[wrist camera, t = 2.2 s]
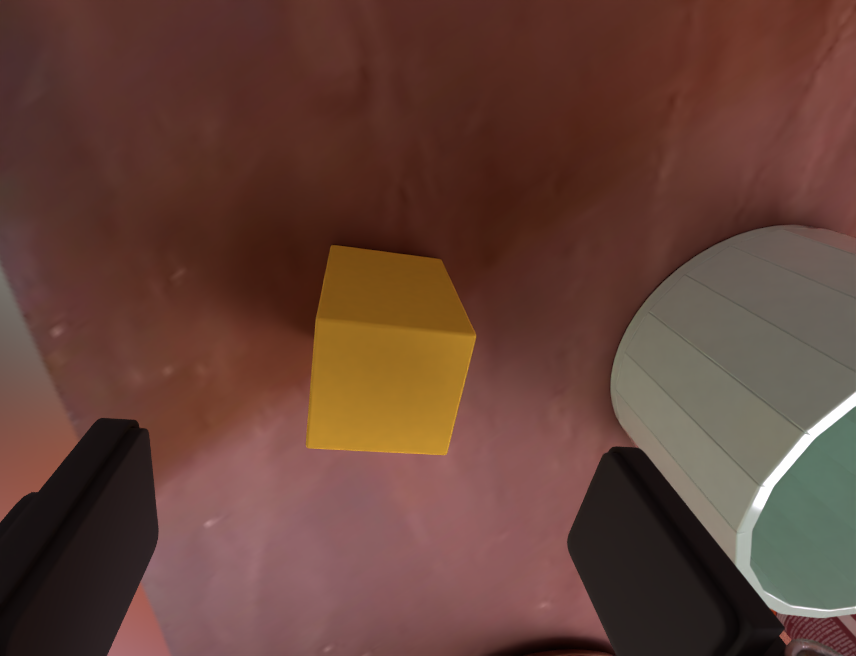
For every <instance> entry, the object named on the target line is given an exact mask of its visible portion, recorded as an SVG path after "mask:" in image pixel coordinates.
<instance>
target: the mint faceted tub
mask: <svg viewBox="0 0 856 656" xmlns="http://www.w3.org/2000/svg"><path fill="white" fill-rule="evenodd" d="M610 391H611V399H612V405H613V409H614V412H615V415H616V418H617V420H618V422H619V423H620V425H621V427H622V428H623V430H624V431H625V432H626V434H627V435H628V437H629V438H630V440H631V441H632V443H633V444H634V446H635V447H636V448H640V449H642V450H643V451H644V452H645V453H646V455H647V456H648V457H649V458H650V460H651V461H652V462H653V463H654V465H655V466H656V467H657V468H658V470H659V471H660V472H661V473H662V475H663V476H664V477H665V478H666V480H667V481H668V482H669V483H670V485H671V486H672V487H673V488H674V490H675V491H676V492H677V493H678V495H679V496H680V497H681V498H682V500H683V501H684V502H685V503H686V505H687V506H688V507H689V508H690V510H691V511H692V512H693V513H694V514H695V516H696V517H697V518H698V519H699V521H700V522H701V523H702V524H703V526H704V527H705V528H706V529H707V531H708V532H709V533H710V534H711V536H712V537H713V538H714V539H715V541H716V542H717V543H718V544H719V546H720V547H721V548H722V549H723V551H724V552H725V553H726V554H727V556H728V557H729V558H730V559H731V561H732V562H733V563H734V564H735V566H736V567H737V568H738V569H739V571H740V572H741V573H742V574H743V576H744V577H745V578H746V579H747V581H748V582H749V583H750V584H751V586H752V587H753V588H754V589H755V591H756V592H757V593H758V594H759V596H760V597H761V598H762V599H763V601H764V602H765V603H766V604H767V606H768V607H769V608H770V609H772V610H774V611H776V612H778V613H780V614H785V615H794V616H804V617H813V618H828V617H836V616H843V615H851V614H856V238H855V237H852V236H848V235H845V234H842V233H838V232H835V231H832V230H828V229H824V228H823V229H819V228H815V227H811V226H802V225H779V226H771V227H765V228H760V229H755V230H752V231H749V232H745V233H742V234H739V235H736V236H733V237H731V238H729V239H727V240H724V241H722V242H720V243H718V244H715V245H714V246H712V247H710V248H708V249H707V250H705V251H703V252H701V253H700V254H698V255H696V256H695V257H694V258H692V259H691V260H689V261H688V262H687V263H685V264H684V265H682V266H681V267H680V268H678V269H677V270H676V271H675V272H674V273H673V274H671V275H670V276H669V277H668V278H667V279H666V280H664V281H663V282H662V283H661V285H660V286H659V287H658V288H657V289H656V290H655V291H654V292H653V293H652V294H651V295H650V296H649V297H648V299H647V300H646V301H645V302H644V304H643V305H642V306H641V308H640V309H639V310H638V311H637V313H636V315H635V316H634V318H633V319H632V321H631V323H630V324H629V326H628V327H627V329H626V331H625V333H624V336H623V338H622V340H621V342H620V344H619V347H618V350H617V353H616V356H615V359H614V363H613V368H612V373H611V388H610Z"/></svg>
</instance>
